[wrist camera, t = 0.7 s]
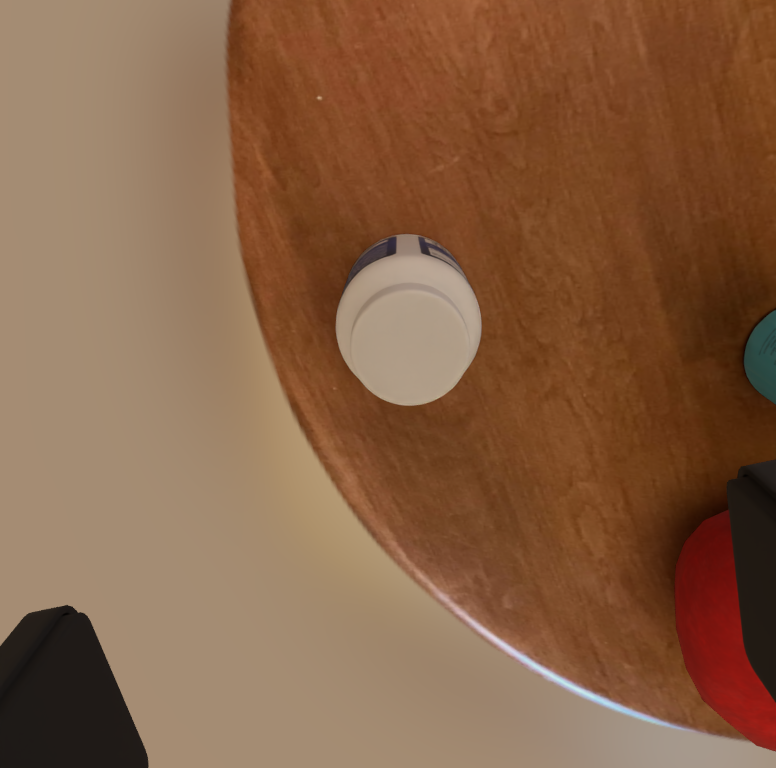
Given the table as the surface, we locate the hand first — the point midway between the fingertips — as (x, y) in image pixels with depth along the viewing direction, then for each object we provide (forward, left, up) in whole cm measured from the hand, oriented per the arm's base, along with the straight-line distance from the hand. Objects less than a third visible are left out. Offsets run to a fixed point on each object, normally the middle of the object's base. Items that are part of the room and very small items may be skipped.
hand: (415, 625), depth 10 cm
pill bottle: (0, 0, -24) cm, 24 cm away
